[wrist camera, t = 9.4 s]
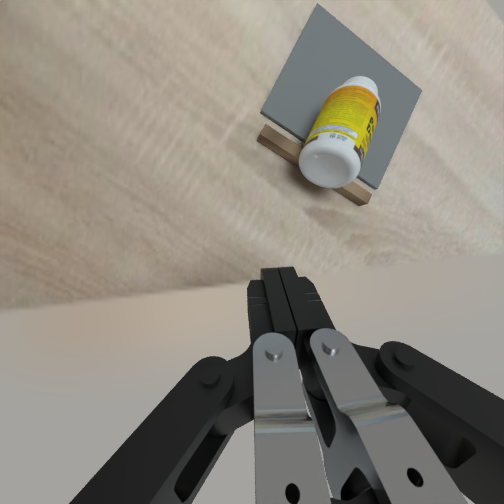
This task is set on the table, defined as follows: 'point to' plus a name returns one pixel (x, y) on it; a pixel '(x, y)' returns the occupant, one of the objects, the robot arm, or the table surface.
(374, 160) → the mat
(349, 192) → the rail
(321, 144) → the supplement bottle
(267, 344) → the robot arm
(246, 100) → the table surface
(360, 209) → the table surface
